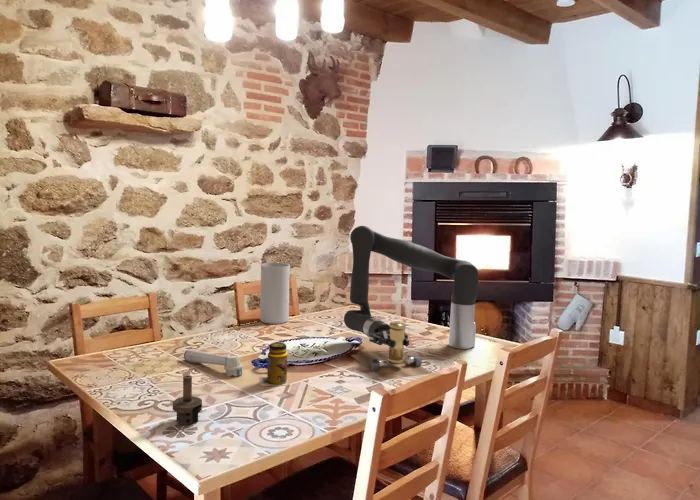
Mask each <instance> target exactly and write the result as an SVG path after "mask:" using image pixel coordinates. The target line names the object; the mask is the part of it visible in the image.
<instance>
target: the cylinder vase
mask: <svg viewBox="0 0 700 500" xmlns="http://www.w3.org/2000/svg"><path fill="white" fill-rule="evenodd" d="M290 272H291V265H290V263H284V262H265V263H262V264H261V265H260V294H259V295H260V297H259V298H260V300H259V301H260V302H259V303H260V304H259V306H260V309H259V310H260V311H259V320H260V321H261V322H262V323H265V324H271V325H278V324H279V325H281V324H285V323H287V322H289V319H290V317H289V316H290V315H289V314H290V313H289V312H290V277H291V276H290V275H291V273H290Z"/></svg>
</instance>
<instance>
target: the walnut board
mask: <svg viewBox="0 0 700 500" xmlns="http://www.w3.org/2000/svg"><path fill="white" fill-rule="evenodd" d="M350 356H351V357H352V358H354V359H355V360H357V361H358V363H359V362H360V363H361V365H364V366H365V367H366V368H367V369H369V370H371V369H370V368H369V359H377V360H378V361H385V360H386V362H387V367H386V368H379V371H373V373H375V374H377V375H378V376H379V377H380V378H382V379H383V380H391V379H398V378H399V379H400V378H407V377H414V376H422V375H430V374H431V373H432V374H433V372H431V371H430V370H429V369H427V368H424V366H422V365H421V366H417V367H416V366H413V365H411V364H410V365H405V364H404V363H402V364H391V363H389V362H388V357H389V350H387V351H378V352H377V351H376V352H368V353H357V354H350ZM403 358H404V359H405V358H407V357H406V356H404V355H403Z"/></svg>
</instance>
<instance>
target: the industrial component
mask: <svg viewBox="0 0 700 500" xmlns="http://www.w3.org/2000/svg"><path fill="white" fill-rule="evenodd" d="M192 379H193V376H192V375H190V374H185V375H184V376H183V377H182V396H181V397H178V398H176V399H174V400H173V401H172V411H174V412H176V422H177V424H179V425H183V426H185V425H186V426H187V425H193V423H198V422H199V414H200V413H201V412H202V410H203V399H202V398H200V397H197V396H193V380H192Z"/></svg>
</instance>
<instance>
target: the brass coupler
mask: <svg viewBox="0 0 700 500" xmlns="http://www.w3.org/2000/svg"><path fill="white" fill-rule="evenodd" d="M406 326H407V324H406V323H404V322H400V321H392V322H390V323H389V327H390V339H391V340H393V341H394V342H395V345H394V348H391V347H390V346H388V351H389V357H388V362H389V363H391V364H402V363H404V358H403V356H404V347H405V345H404V332H405V330H406V328H407V327H406ZM405 333H406V332H405Z"/></svg>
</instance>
